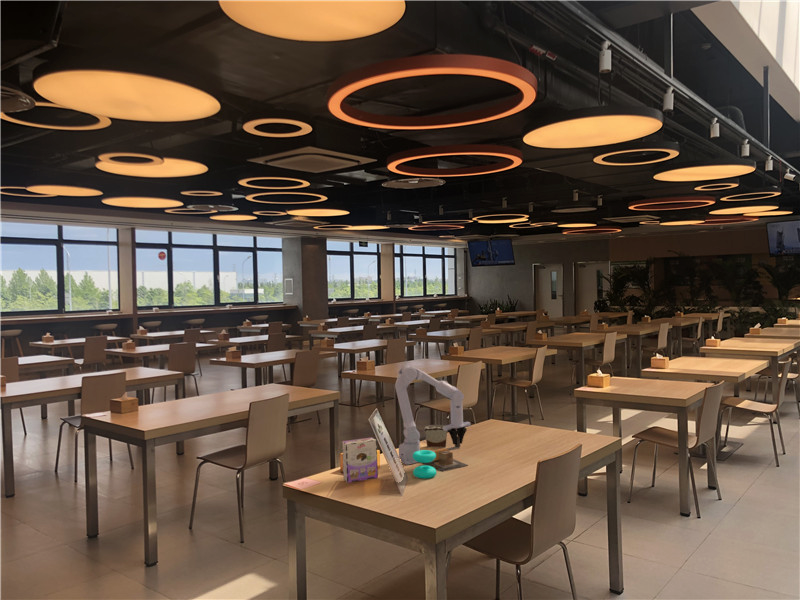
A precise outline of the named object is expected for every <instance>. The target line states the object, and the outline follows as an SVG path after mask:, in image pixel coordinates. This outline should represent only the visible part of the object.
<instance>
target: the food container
mask: <svg viewBox="0 0 800 600" xmlns="http://www.w3.org/2000/svg"><path fill="white" fill-rule="evenodd" d="M443 426H445V425H443V424H431V425H426V426H424V428H423V432H424V435H425V440H426V448H447V439H448V438H447V436H448V435H447V434H448V430H447V431H444V430H443Z"/></svg>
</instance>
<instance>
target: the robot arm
mask: <svg viewBox="0 0 800 600" xmlns="http://www.w3.org/2000/svg"><path fill="white" fill-rule="evenodd" d="M415 380H417V381H418V380H422V381H424V382H426V383H428V384H429V385H431V386H433V387H434V388H435V390H436V392H437V393H439V394H441V395H443V396H444V397H446V398H448V399H449V400H450V402H449V403H450V423H449V424H447V425H444V426H443V430H444V431H447V430H448V431H447V433H449V435H450V437H451V441H452V444H453V445H454V446H455V445H457V436H459V437H460V445H461V444H463V441H464V437H465V435H466V432H467V428H468V427H469V428H470V427H471V422H470V421H464V411H463V408H464V407H463V401H464V398H465V395H464V393H463V392H462V391H461V390H459V389H458V388H457V387H456V386H454V385H451V384H450V383H449V382H448V381H447V380H443V379H442V380H438V379H436V378H434V377H433V376H431V375H429V374H428V373H426V372H425V371H423V370H421V369H419V368H417V367H413V366H412V365H411V364H404V365H403V366H401V368H400V369H399V371H398V374H397V378H396V381H395V383H394V384H395V385H394V388H395V392H396V396H397V399H398V400H397V401H398V405H399V408H400V413H401V417H402V421H403V432H402V433H403V436H404V437H405V438H404V440H403V443H400V444H399V445H398V459H399V458H400V459H401V461H402V462H401V463H402V464H404V465H405V466H406V465H412V464H418V463H419V462H417V461H415V460H414V459H413V453H414V452H416V451H419V450H421V448H420V447H421V445H420V442H421V440H420V439H421V433H420V431H419V430H418V429H417V425H416V423H415V420H414V416H413V415H414V414H413V412H412V408H411V403H410V399H409V395H408V390H407V388H408V386H409V385H410V384H411V383H412V382H413V381H415Z"/></svg>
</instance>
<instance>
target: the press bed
mask: <svg viewBox="0 0 800 600" xmlns="http://www.w3.org/2000/svg"><path fill="white" fill-rule="evenodd" d="M423 464H424V465H427V466H432V467H434V468H435V469H436V471H437V470H438V471H440V472H447V471H450V470H455V469H459V468H464V467H468V463H467V464H466V463H464V462H461V461H459V460H458V459H457V460H456V459H454V458H453V464H449V465H443V464H440V463H439V460H437V461H432V462H427V463H423Z"/></svg>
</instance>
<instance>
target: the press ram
mask: <svg viewBox="0 0 800 600" xmlns="http://www.w3.org/2000/svg"><path fill="white" fill-rule="evenodd" d="M460 448H461V444H460V437H459V436H458V435H457V445H455V444H454V446H452V447H442V448H439V449H435V450H432V451H433V452H435V454H436V458H435V459H434V460H433V461H437V460H439V452H442V451H450V452H451V451H455V450H459V449H460ZM431 462H432V461H431Z"/></svg>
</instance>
